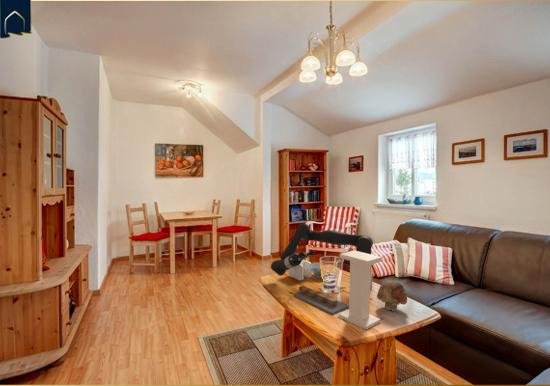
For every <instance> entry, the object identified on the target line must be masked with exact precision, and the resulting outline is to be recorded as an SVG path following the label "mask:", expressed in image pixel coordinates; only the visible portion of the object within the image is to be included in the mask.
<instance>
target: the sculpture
mask: <svg viewBox="0 0 550 386" xmlns="http://www.w3.org/2000/svg"><path fill="white" fill-rule="evenodd" d="M376 298H377V300H379V301H381V302H382V303H384V309H385V310H387V311H391V310H392V312H396V311H397V310H398V306H399V305H406V304H407V303H408V296H407V292H406V290H405V287H404V285H403V284H402V283H401V282H397V281H394V280H386V281H384V282H383V283H381V284H380V286H379V287H378V291H377V294H376ZM395 310H396V311H395Z"/></svg>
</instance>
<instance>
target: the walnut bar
mask: <svg viewBox="0 0 550 386" xmlns="http://www.w3.org/2000/svg"><path fill="white" fill-rule="evenodd" d="M298 292H300V293H303V294H305V295H307V296H310V297H312V298H314V299H316V300H319V301H321V302H323V303H326V304H328V305H330V306H332V307H335V306H337V301H338V299H335V298H334V297H330V296H329V295H326V294H324V293H321V292H318V291H316V290H314V289H312V290H311V288H309V287H306V286H304V285H301V286H299V287H298Z"/></svg>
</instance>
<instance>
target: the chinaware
mask: <svg viewBox="0 0 550 386" xmlns="http://www.w3.org/2000/svg"><path fill="white" fill-rule="evenodd" d="M320 263H321V262H311V265H312V267H311V273H313V275H315V277H316V278H321V269H320Z"/></svg>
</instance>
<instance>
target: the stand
mask: <svg viewBox="0 0 550 386" xmlns="http://www.w3.org/2000/svg"><path fill="white" fill-rule="evenodd" d="M339 259H343V260H346V261H349V288H348V289H349V291H348V294H349V296H348V305H349V308H347V309H345V310H342V311H340V312H338V313H337V314H338V318H340V319H342V320H345V321H346V322H349V323H351V324H353V325H355V326H357V327H360V328H361V329H363V328H364V329H363V330H365V329H367V330H369V329H370V328H372V327H374V326H376V325H378V324H380V323H381V318H379V317H376V316H374V315H372V314H370V306H371V305H370V303H371V301H370V300H371V289H370V274H371V273H372V269H371V264H372V265H374V264H377V263H380V262H383V256H379V255H376V254H372V253H371V254H367V253H363V252H359V251H356V249H355V250H351V251H346V252H342V253H339ZM379 322H380V323H379ZM377 323H378V324H377ZM375 324H376V325H375ZM373 325H374V326H373ZM369 327H370V328H369ZM368 328H369V329H368Z"/></svg>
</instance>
